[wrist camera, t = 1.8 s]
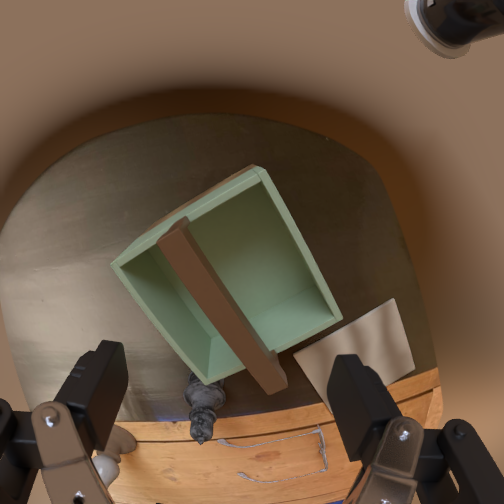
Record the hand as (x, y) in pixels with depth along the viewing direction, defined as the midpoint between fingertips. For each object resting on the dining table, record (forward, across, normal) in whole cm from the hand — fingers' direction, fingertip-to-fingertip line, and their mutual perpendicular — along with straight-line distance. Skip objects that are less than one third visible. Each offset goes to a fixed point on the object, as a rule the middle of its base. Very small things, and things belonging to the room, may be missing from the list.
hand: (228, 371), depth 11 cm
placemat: (+25, -21, +20) cm, 38 cm away
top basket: (+18, 0, +2) cm, 18 cm away
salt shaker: (+25, +2, +23) cm, 35 cm away
